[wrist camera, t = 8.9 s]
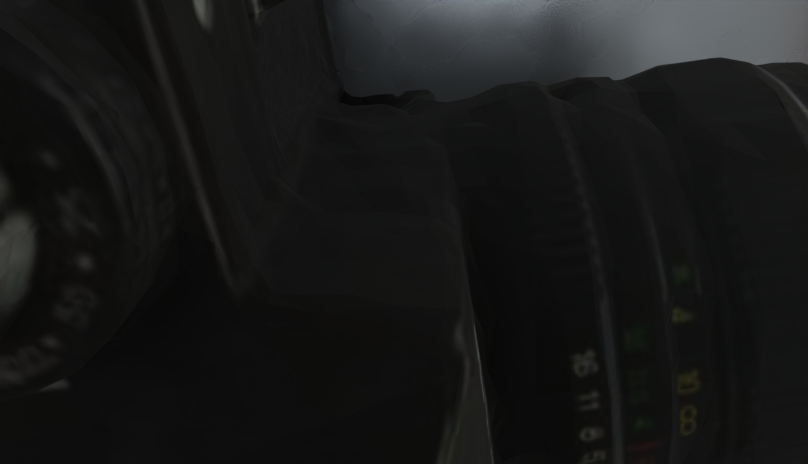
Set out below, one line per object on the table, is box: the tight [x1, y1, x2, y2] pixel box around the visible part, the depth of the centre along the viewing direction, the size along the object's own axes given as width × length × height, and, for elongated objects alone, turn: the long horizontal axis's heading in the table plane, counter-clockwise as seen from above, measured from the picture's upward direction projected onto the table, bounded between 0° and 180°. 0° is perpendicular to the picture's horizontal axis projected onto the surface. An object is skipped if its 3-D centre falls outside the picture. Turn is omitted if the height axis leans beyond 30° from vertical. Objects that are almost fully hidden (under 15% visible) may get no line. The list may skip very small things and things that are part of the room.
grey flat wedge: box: [323, 0, 808, 102], centre depth 15 cm, size 20×19×7 cm
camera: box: [0, 0, 808, 464], centre depth 9 cm, size 14×11×10 cm
